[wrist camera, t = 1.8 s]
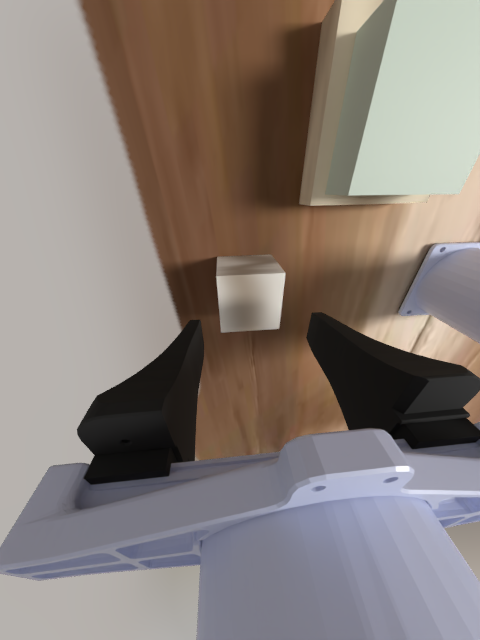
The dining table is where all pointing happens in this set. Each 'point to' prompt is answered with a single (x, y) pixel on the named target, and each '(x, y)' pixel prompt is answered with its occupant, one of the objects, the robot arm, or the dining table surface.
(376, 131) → the sage block
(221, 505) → the robot arm
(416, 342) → the dining table surface
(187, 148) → the dining table surface
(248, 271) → the ivory cube
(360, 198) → the birch slab
